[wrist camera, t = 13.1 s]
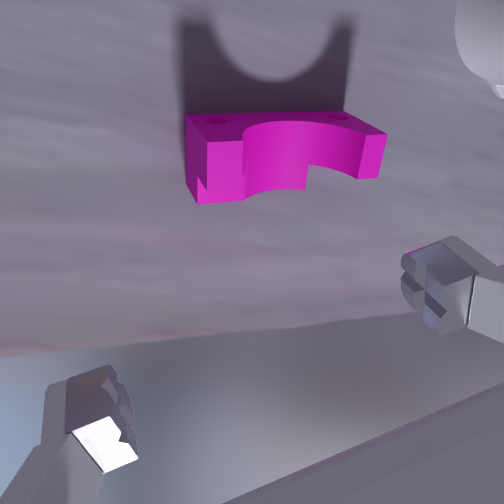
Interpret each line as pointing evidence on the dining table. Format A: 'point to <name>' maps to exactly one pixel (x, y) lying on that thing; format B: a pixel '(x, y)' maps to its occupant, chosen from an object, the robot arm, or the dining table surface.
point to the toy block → (274, 151)
